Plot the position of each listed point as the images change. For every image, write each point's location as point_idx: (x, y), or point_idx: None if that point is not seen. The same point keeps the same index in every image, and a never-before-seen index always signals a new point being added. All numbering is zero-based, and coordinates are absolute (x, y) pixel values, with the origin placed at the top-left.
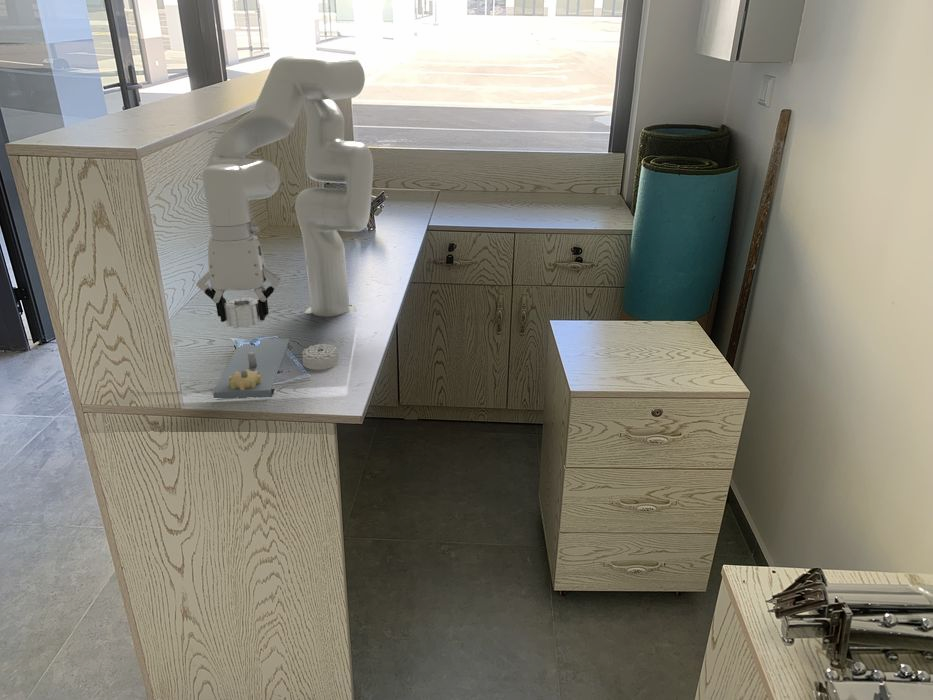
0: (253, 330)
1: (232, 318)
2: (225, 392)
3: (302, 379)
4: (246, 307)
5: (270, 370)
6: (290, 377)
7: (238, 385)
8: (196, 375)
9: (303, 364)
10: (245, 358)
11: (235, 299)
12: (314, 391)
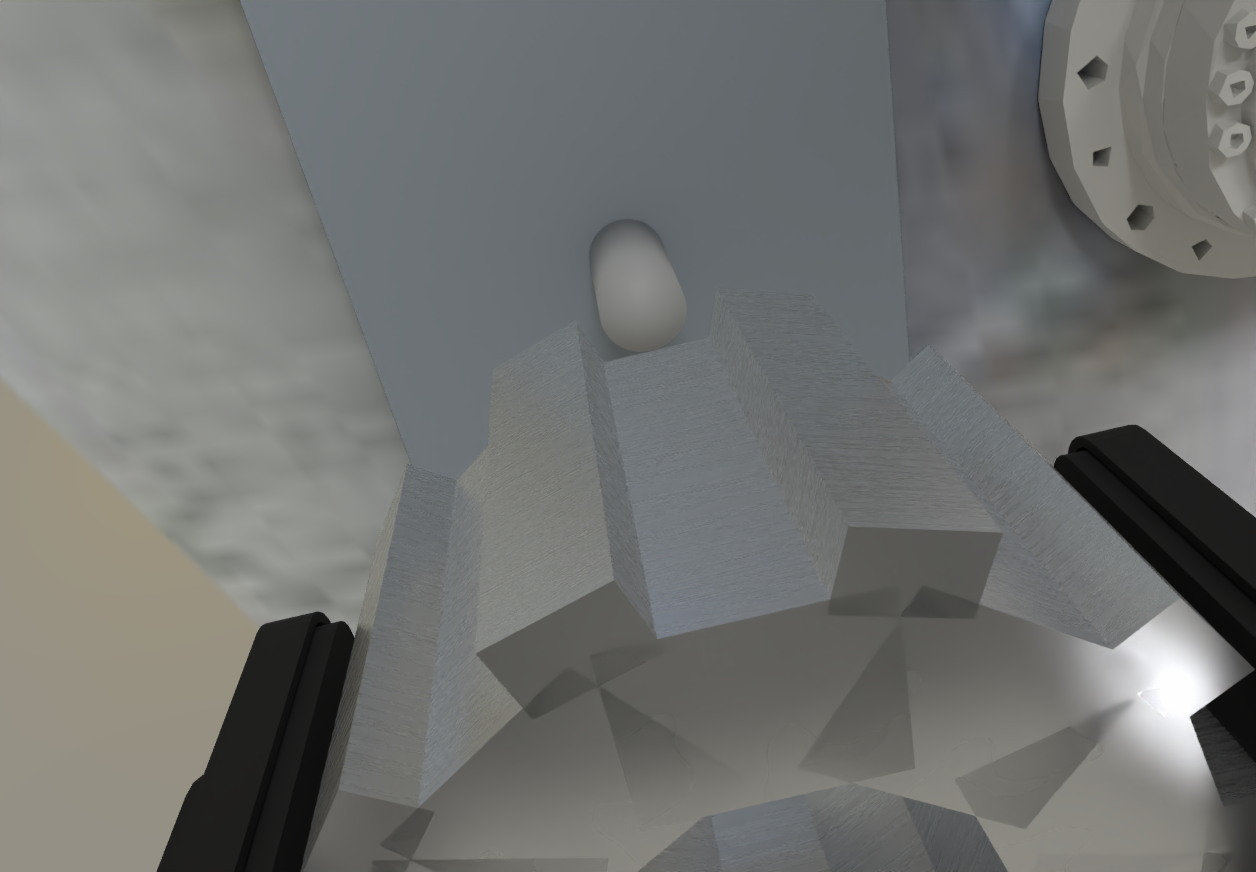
0: None
1: None
2: None
3: (1099, 295)
4: None
5: (832, 314)
6: (987, 272)
7: None
8: (76, 349)
9: (1146, 156)
10: (446, 62)
11: (475, 771)
12: (1208, 466)
